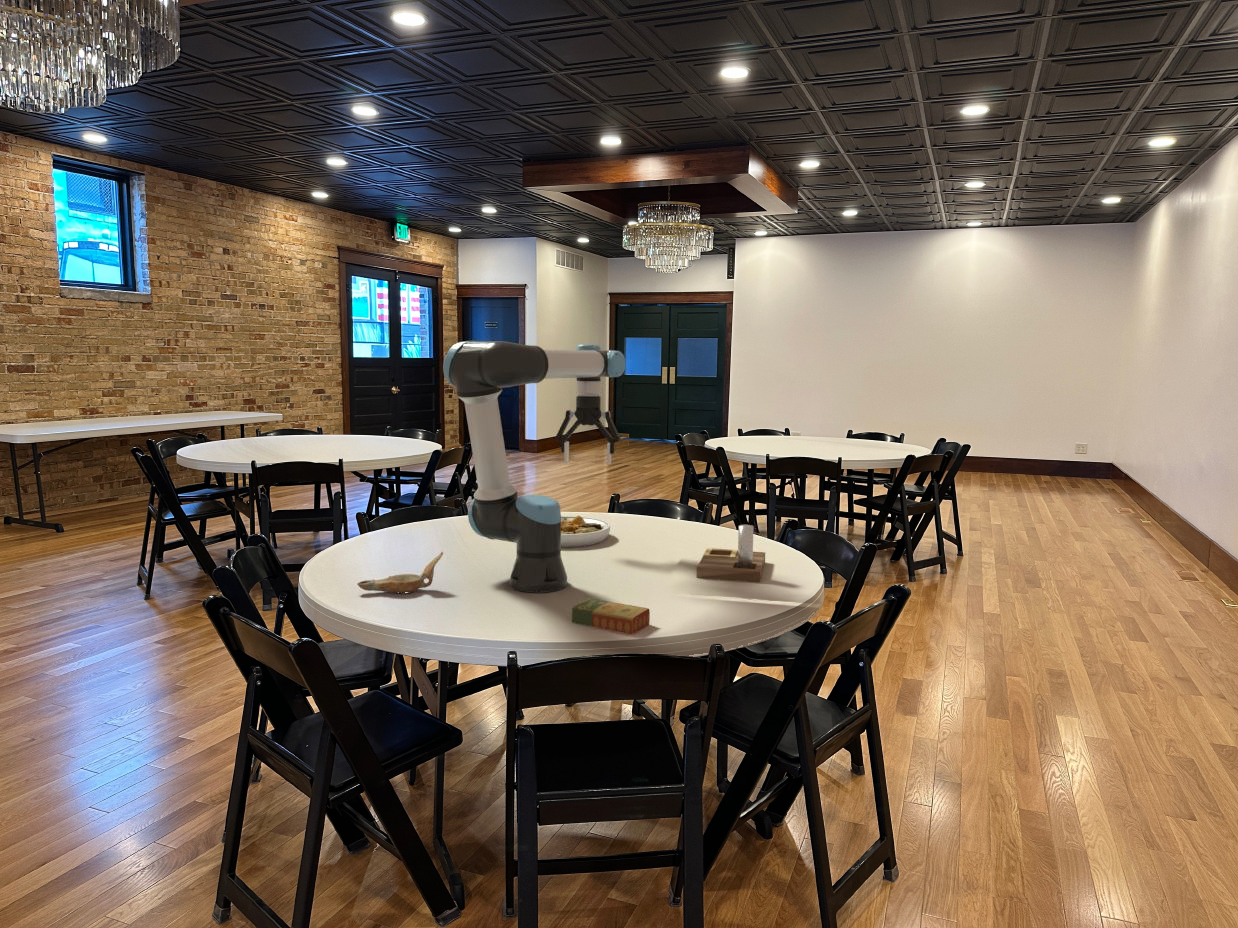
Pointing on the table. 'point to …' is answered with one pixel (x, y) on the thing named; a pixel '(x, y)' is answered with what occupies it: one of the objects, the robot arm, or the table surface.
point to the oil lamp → (402, 580)
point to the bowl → (582, 531)
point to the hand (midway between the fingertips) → (587, 463)
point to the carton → (611, 616)
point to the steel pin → (745, 546)
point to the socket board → (729, 566)
